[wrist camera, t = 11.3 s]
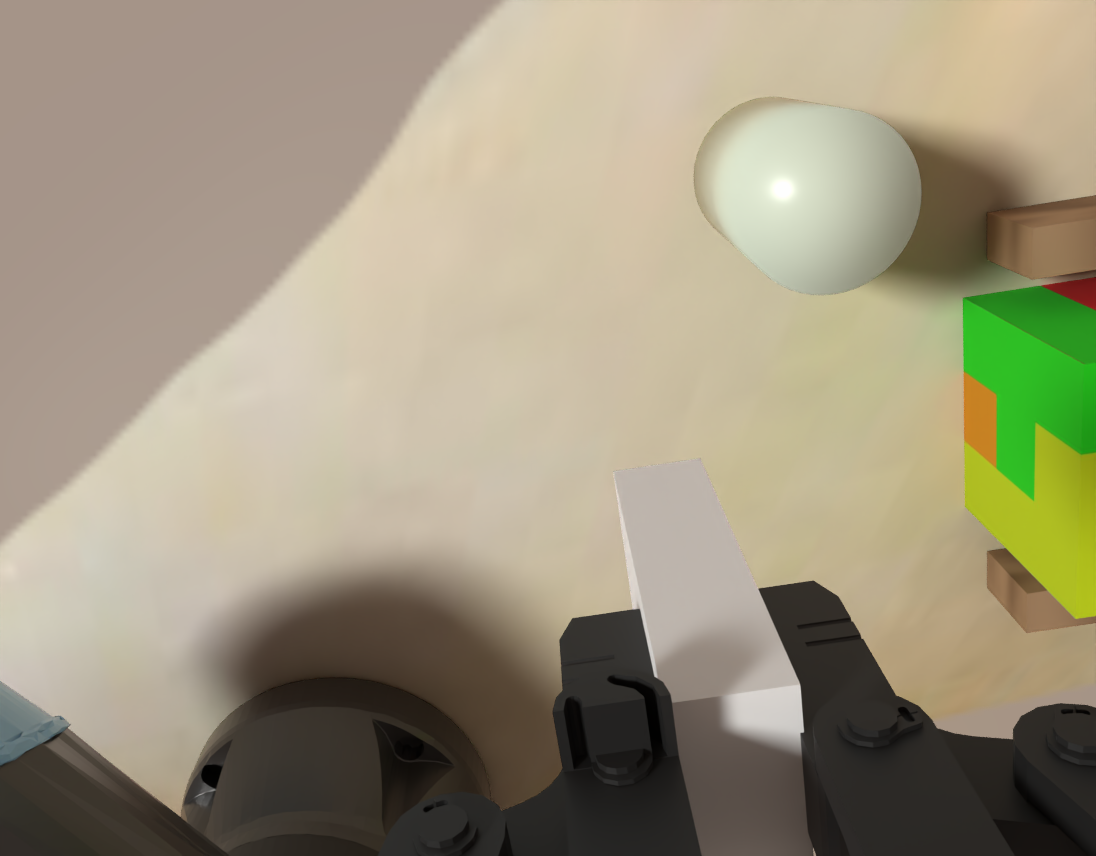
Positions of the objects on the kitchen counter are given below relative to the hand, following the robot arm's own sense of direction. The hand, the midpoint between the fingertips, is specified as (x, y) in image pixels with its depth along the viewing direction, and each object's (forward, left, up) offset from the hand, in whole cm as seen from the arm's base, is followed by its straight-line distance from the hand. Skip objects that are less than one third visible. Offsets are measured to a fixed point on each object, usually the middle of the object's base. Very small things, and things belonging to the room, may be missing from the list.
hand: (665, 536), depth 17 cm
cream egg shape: (+8, +2, -26) cm, 28 cm away
